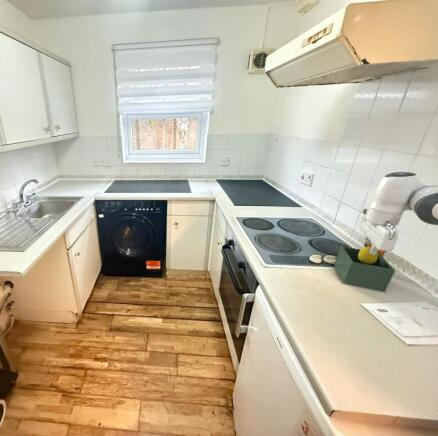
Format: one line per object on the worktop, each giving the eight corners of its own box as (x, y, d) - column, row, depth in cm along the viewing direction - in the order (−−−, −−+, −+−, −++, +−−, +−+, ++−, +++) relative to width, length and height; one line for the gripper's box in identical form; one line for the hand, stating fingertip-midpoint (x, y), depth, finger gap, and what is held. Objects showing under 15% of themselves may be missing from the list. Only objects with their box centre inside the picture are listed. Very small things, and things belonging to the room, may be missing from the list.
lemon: (354, 260, 97) (359, 242, 94) (372, 263, 94) (378, 245, 91) (357, 266, 92) (363, 247, 90) (376, 270, 90) (382, 251, 87)
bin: (370, 272, 99) (378, 252, 96) (384, 292, 88) (395, 270, 84) (333, 265, 104) (340, 246, 100) (343, 283, 93) (351, 262, 89)
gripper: (409, 230, 76) (392, 266, 81) (381, 209, 93) (368, 240, 98) (384, 226, 78) (369, 262, 83) (361, 207, 95) (350, 237, 101)
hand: (368, 250), depth 91 cm, fingers closed on lemon, 4 cm apart
